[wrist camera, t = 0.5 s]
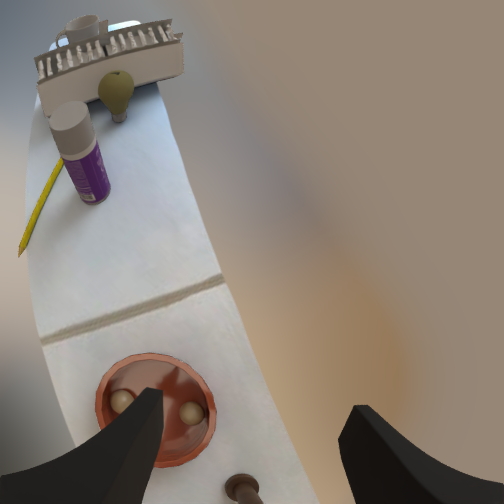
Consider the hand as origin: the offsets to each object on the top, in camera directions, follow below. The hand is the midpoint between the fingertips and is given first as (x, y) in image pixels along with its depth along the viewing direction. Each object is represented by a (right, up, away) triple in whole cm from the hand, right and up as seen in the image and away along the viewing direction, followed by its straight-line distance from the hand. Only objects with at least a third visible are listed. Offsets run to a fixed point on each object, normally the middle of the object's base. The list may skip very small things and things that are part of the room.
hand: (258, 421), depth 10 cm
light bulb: (-22, +28, +33) cm, 48 cm away
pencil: (-29, +13, +25) cm, 41 cm away
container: (-22, +15, +28) cm, 38 cm away
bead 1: (-14, -10, +18) cm, 25 cm away
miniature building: (-24, +42, +28) cm, 56 cm away
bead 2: (-7, -11, +19) cm, 23 cm away
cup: (-38, +49, +37) cm, 72 cm away
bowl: (-11, -11, +20) cm, 26 cm away
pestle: (-2, -22, +18) cm, 29 cm away
